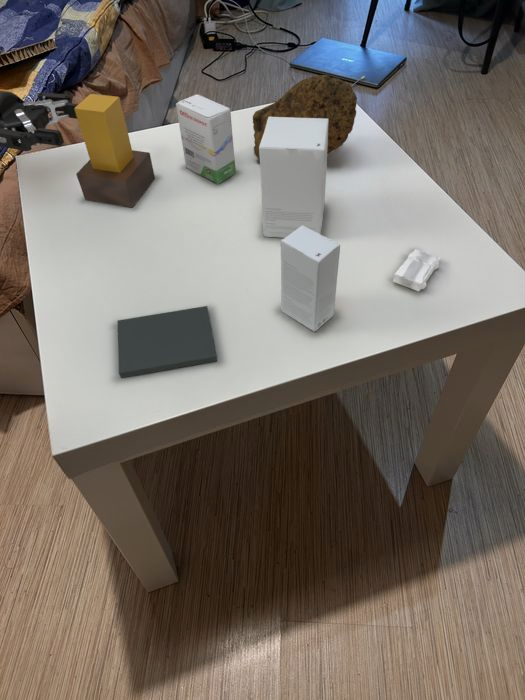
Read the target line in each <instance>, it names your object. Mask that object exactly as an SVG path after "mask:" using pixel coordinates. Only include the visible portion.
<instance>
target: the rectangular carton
mask: <svg viewBox="0 0 525 700" xmlns="http://www.w3.org/2000/svg"><path fill="white" fill-rule="evenodd" d="M327 147H328V119H323V118H292V117H268V120H267V124H266V127H265V131H264V134H263V137H262V140H261V143H260V146H259V155H260V159H259V169H260V172H259V173H260V191H261V210H262V211H261V213H262V229H263V230H262V232H263V233H262V234H263V237H265V238H266V237H267V238H281V239H284V238H285V237H287V236H288V235H290V234H291V233H292V232H294V231H295V230H297V229H298V228H299V227H301V226H302V225H303V226H305V227H307V228H309V229H311V230H313V231H315V232H317V233H319V234H321V235H322V227H323V221H324V220H323V219H324V212H325V200H326V199H325V198H326V184H327V183H326V181H327V164H328V155H327Z"/></svg>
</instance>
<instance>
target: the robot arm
mask: <svg viewBox="0 0 525 700" xmlns="http://www.w3.org/2000/svg"><path fill="white" fill-rule="evenodd" d="M37 98H38V99H37V100H36V101H34V100H29V101H24V100H23V99H22V98H21V97H19V96H18V95H17V94H16V93H14V92H12V91H6V90H0V147H1V148H6V149H12V150H16V151H22V152H30V151H32V149H33V148H32V146H35V147H39V146H41V145H47V146H56V147H58V146H59V147H61V146H63V145H64V144H65V141H64V138H63V134H62V132H61V131H60V130H58V129H51V128H44V127H46V126H49V125H53V124H57V123H59V122H60V120H63V119H67V118H69V119H74V120H75V119H77V116H76V112H75V109H74V108H75V107H76V106H77V105H79V104H80V103H75V102H73V101H72V97H71V95H70V94H66V93H52V92H38V93H37ZM48 112H50V113H51V117H49V114H48ZM77 120H78V119H77Z"/></svg>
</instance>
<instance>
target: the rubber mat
mask: <svg viewBox="0 0 525 700" xmlns="http://www.w3.org/2000/svg"><path fill="white" fill-rule="evenodd" d="M117 348H118V349H117V353H118V357H117V358H118V374H119V377H120V378H121V379H122V378H129V377H134V376H139V375H145V374H150V373H151V374H152V373H157V372H162V371H169V370H174V369H179V368H186V367H191V366H192V367H193V366H197V365H203V364H209V363H214V362H218V357H217V352H216V346H215V342H214V336H213V331H212V324H211V319H210V313H209V309H208V305H205V306H197V307H191V308H186V309H179V310H174V311H167V312H160V313H154V314H150V315H142V316H137V317H136V316H135V317H130V318H125V319H117Z"/></svg>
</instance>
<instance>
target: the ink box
mask: <svg viewBox="0 0 525 700" xmlns="http://www.w3.org/2000/svg"><path fill="white" fill-rule="evenodd" d="M175 107H176V113H177V120H178V126H179V132H180V139H181V145H182V151H183V152H182V153H183V157H184V164H185V168H186V169H189V170H190V171H192V172H194V173H195V174H198V175H199V176H201V177H203V178H205V179H206V180H209V181H211V182H212V183H214V184H218V185H220V183H222V182H224V181H225V180H227V179H229V178H230V177H231V176H233V175H235V174H236V173H237V170H236V169H237V168H236V160H235V148H234V137H233V126H232V125H233V124H232V113H231V108H230V107H227V106H225V105H223V104H220V103H218V102H216V101H213V100H212V99H210V98H206V97H205V96H203V95H201V94H198V93H197V94H193V95H191V96H189V97H186V98H184V99H182V100H179V101H177V102H176V103H175Z"/></svg>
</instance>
